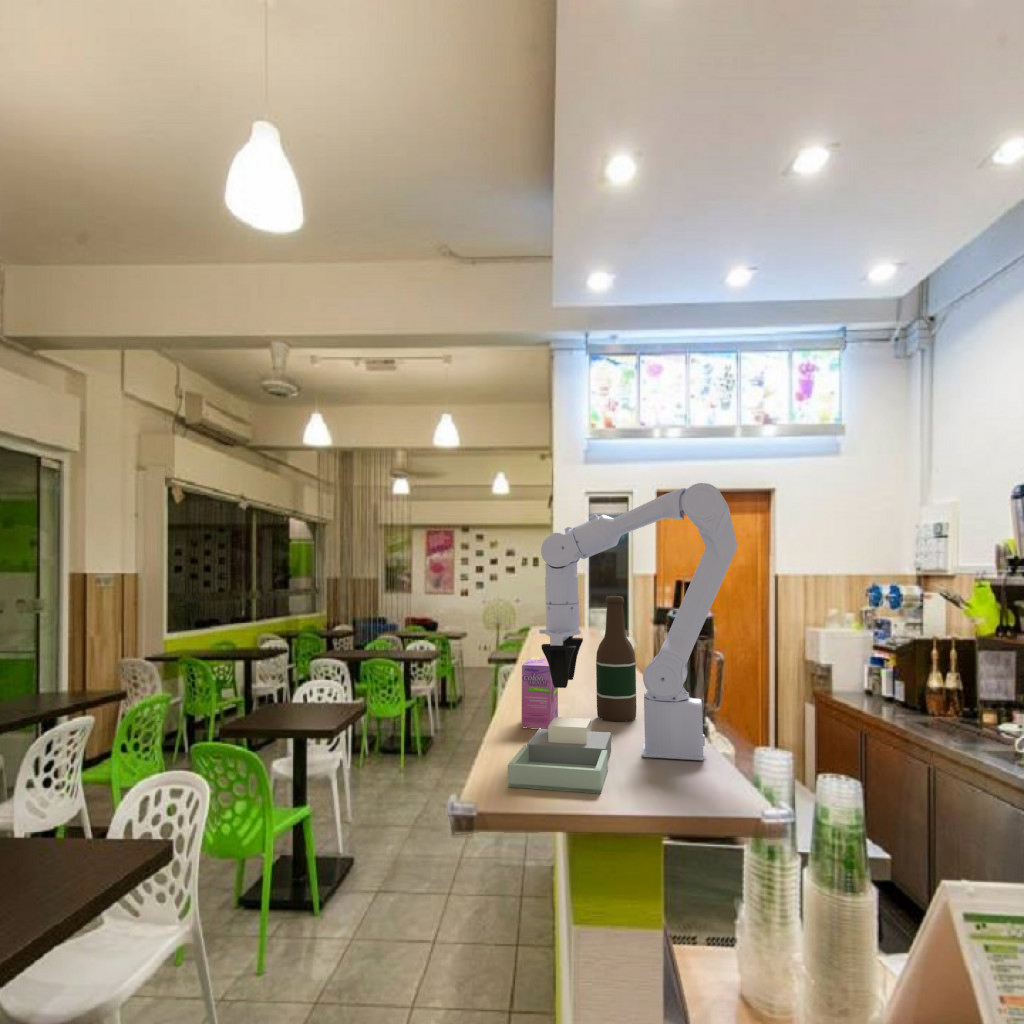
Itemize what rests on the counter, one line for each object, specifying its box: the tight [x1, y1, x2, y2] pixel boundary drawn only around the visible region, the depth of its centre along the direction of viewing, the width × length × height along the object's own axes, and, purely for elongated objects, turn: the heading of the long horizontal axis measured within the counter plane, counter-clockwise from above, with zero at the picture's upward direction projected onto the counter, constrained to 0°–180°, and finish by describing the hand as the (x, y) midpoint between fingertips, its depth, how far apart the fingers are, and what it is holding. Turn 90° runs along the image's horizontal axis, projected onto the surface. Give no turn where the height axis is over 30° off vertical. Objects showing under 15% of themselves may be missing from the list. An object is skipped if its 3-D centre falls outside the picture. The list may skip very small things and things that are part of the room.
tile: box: [548, 716, 592, 744], centre depth 109 cm, size 6×6×2 cm
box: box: [520, 656, 559, 729], centre depth 132 cm, size 10×6×12 cm, turn 168°
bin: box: [507, 744, 609, 795], centre depth 98 cm, size 13×11×3 cm
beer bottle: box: [595, 595, 637, 723], centre depth 136 cm, size 8×8×24 cm
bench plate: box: [526, 729, 612, 766], centre depth 109 cm, size 12×10×3 cm
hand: (563, 683), depth 117 cm, fingers open, 7 cm apart
